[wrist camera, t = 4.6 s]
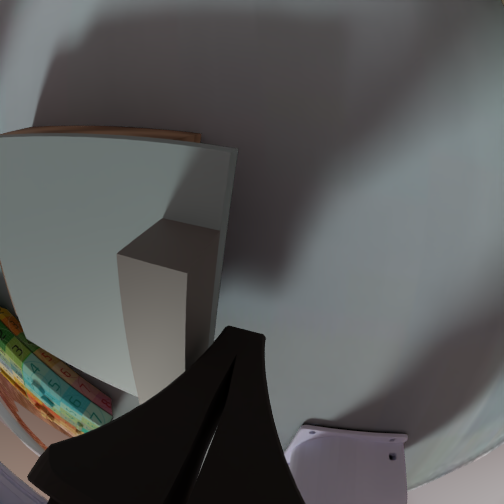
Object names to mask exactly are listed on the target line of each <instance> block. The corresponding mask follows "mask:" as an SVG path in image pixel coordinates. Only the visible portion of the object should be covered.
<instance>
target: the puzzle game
mask: <svg viewBox="0 0 504 504" xmlns="http://www.w3.org/2000/svg"><path fill="white" fill-rule="evenodd" d="M0 372H1V373H2V374H3V375H4V376H5V377H6V378H7V380H8V381H9V382H10V383H11V384H12V385H13V386H14V387H15V388H16V389H18V390H19V391H20V392H21V393H22V394H23V395H24V396H25V397H26V398H27V399H28V400H29V401H30V402H31V403H33V404H34V407H35V408H36V409H37V410H38V411H39V412H40V413H41V415H42V416H43V417H44V418H46V419H47V418H48V419H49V420H50V421H51V422H53V421H54V422H55V423H56V424H57V425H59V426H60V427H61V428H63V429H64V430H65V431H67V432H68V433H69V434H71V435H72V436H73V437H75V436H78V435H81V434H84V433H86V432H89V431H91V430H93V429H96V428H98V427H100V426H102V425H104V424H106V423H109V422H111V420H112V419H113V415H112V409H111V398H110V397H108V396H107V395H105V394H104V393H102V392H101V391H100V390H98V389H97V388H95V387H94V386H93V385H91V384H90V383H89V382H87V381H86V380H85V379H83V378H82V377H81V376H79V375H78V374H77V373H76V372H74V371H73V370H72V369H71V368H69V367H68V366H67V365H66V364H65V363H63V362H62V361H61V360H60V359H59V358H57V357H56V356H54V355H52V354H51V353H49V352H47V351H46V350H44V349H42V348H41V347H39V346H38V345H36V344H34V343H33V342H31V341H30V340H28V339H27V338H26V336H25V334H24V331H23V329H22V326H21V323H20V322H19V321H18V320H17V319H16V318H15V317H14V316H13V315H12V314H11V313H10V312H9V311H8V310H7V309H4V308H1V307H0Z"/></svg>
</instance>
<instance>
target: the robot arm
mask: <svg viewBox="0 0 504 504" xmlns="http://www.w3.org/2000/svg"><path fill="white" fill-rule="evenodd" d="M265 340H266V337H265V336H264V335H263V334H260V333H256V332H252V331H248V330H244V329H240V328H236V327H232V326H227V327H225V328H224V330H223V331H222V333H221V334H220V335H219V336H218V338H217V339H216V340H215V341H214V342H213V344H212V345H211V346H210V347H209V348H208V349H207V350H206V351H205V352H204V353H203V354H202V355H201V356H200V357H199V358H198V359H197V360H196V361H195V362H194V363H193V364H192V365H191V366H190V367H189V368H188V369H187V370H186V371H185V372H183V373H182V374H181V375H180V376H179V377H178V378H176V379H175V380H174V381H173V382H172V383H171V384H169V385H168V386H167V387H165V388H164V389H163V390H161V391H160V392H159V393H157V394H156V395H155V396H153V397H152V398H150V399H149V400H147V401H146V402H144V403H143V404H141V405H139V406H138V407H136V408H134V409H133V410H131V411H130V412H128V413H126V414H124V415H122V416H121V417H119V418H117V419H115V420H113V421H111V422H109V423H106V424H104V425H102V426H100V427H98V428H96V429H93V430H91V431H89V432H86V433H84V434H81V435H78V436H75V437H72V438H69V439H67V440H63V441H60V442H57V443H54V444H51V445H50V446H49V447H48V448H47V449H46V450H45V452H44V453H43V454H42V455H41V456H40V457H39V459H38V460H37V462H36V464H35V465H34V467H33V468H32V470H31V471H30V473H29V474H28V476H27V477H28V480H29V481H30V482H31V483H32V484H34V485H35V486H36V487H37V488H39V489H40V490H41V491H43V492H44V493H45V494H47V495H48V496H50V499H49V501H48V500H47V499H46V498H44V497H43V496H41V495H40V494H39V493H37V492H36V491H35V490H33V489H32V488H31V487H29V486H28V485H27V484H26V483H24V482H23V481H22V480H21V479H20V478H18V477H17V476H16V475H15V474H14V473H12V472H11V471H10V470H9V469H8V468H7V467H6V466H5V465H3V464H2V463H1V462H0V504H407V480H406V465H405V454H404V444H403V443H404V442H406V441H407V439H408V435H407V434H391V433H374V432H361V431H351V430H342V429H333V428H326V427H319V426H312V425H302V426H301V427H300V428H299V430H298V431H297V433H296V435H295V436H294V438H293V439H292V441H291V442H290V444H289V446H288V447H287V449H286V450H285V452H283V449H282V446H281V443H280V440H279V437H278V434H277V430H276V426H275V423H274V418H273V414H272V410H271V405H270V400H269V394H268V388H267V380H266V372H265ZM217 426H218V427H217ZM215 431H216V432H215ZM214 433H215V435H214ZM213 435H214V437H213ZM212 437H213V440H212ZM211 440H212V443H211V445H210V448H209V450H208V453H207V456H206V458H205V461H204V463H203V466H202V468H201V465H202V462H203V459H204V456H205V454H206V451H207V449H208V446H209V444H210V442H211ZM200 468H201V471H200ZM199 471H200V473H199ZM198 474H199V476H198ZM197 477H198V478H197Z"/></svg>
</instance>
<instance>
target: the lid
mask: <svg viewBox="0 0 504 504" xmlns="http://www.w3.org/2000/svg"><path fill="white" fill-rule="evenodd" d="M237 155H238V149H236V148H230V147H224V146H217V145H210V144H203V143H195V142H188V141H179V140H170V139H161V138H150V137H139V136H125V135H109V134H84V133H31V134H8V135H0V261H1V265H2V268H3V272H4V276H5V279H6V282H7V286H8V289H9V292H10V295H11V298H12V301H13V304H14V307H15V310H16V313H17V315H18V318H19V321H20V323H21V326H22V329H23V331H24V334H25V336H26V338H27V339H28V340H30V341H31V342H33V343H34V344H36V345H38V346H39V347H41V348H42V349H44V350H46V351H47V352H49V353H51V354H52V355H54V356H56V357H57V358H59V359H61V360H63V361H65V362H66V363H68V364H70V365H72V366H74V367H75V368H77V369H79V370H81V371H83V372H85V373H87V374H89V375H91V376H93V377H95V378H97V379H99V380H101V381H103V382H105V383H107V384H109V385H112V386H114V387H116V388H118V389H120V390H123V391H125V392H127V393H130V394H132V395H134V396H137V397H138V398H139V402H140V405H141V404H143V403H144V402H146V401H147V400H149V399H150V398H152V397H153V396H155V395H156V394H157V393H159V392H160V391H161V390H163V389H164V388H165V387H167V386H168V385H169V384H171V383H172V382H173V381H174V380H175V379H176V378H178V377H179V376H180V375H181V374H182V373H183V372H185V371H186V370H187V369H188V368H189V367H190V366H191V365H192V364H193V363H194V362H195V361H196V360H197V359H198V358H199V357H200V356H201V355H202V354H203V353H204V352H205V351H206V350H207V349H208V348H209V347H210V346H211V345H212V344H213V342H214V335H215V325H216V316H217V307H218V298H219V290H220V281H221V273H222V265H223V257H224V249H225V241H226V233H227V226H228V218H229V211H230V204H231V196H232V189H233V182H234V175H235V168H236V162H237Z"/></svg>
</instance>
